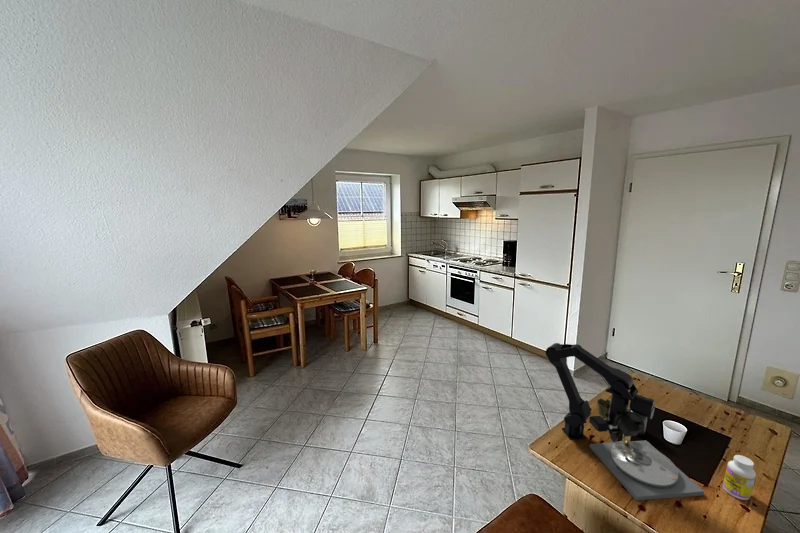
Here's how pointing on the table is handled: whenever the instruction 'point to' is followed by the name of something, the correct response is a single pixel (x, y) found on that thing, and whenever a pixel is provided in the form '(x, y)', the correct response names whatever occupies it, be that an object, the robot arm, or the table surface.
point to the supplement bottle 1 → (641, 419)
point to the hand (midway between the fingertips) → (613, 441)
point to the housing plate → (641, 490)
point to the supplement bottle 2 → (739, 477)
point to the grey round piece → (643, 463)
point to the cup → (603, 407)
